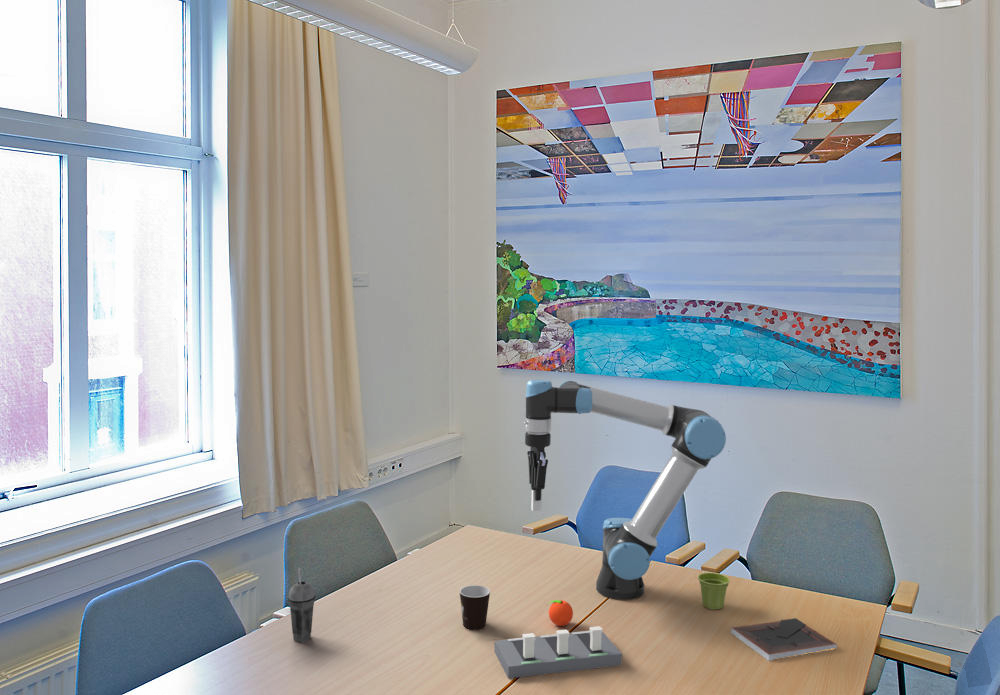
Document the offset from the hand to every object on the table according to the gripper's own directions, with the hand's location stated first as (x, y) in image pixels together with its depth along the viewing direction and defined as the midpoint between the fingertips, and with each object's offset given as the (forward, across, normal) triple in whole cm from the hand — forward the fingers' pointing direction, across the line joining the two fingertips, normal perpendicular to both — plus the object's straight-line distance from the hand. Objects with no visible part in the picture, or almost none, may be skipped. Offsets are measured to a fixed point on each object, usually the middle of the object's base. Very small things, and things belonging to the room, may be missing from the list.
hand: (536, 510), depth 232 cm
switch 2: (+26, +37, +5) cm, 45 cm away
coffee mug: (+30, +8, -20) cm, 37 cm away
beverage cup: (+30, +7, -68) cm, 74 cm away
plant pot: (+30, +12, +53) cm, 62 cm away
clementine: (+30, +14, +3) cm, 33 cm away
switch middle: (+26, +37, -4) cm, 45 cm away
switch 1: (+26, +37, -13) cm, 47 cm away
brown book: (+30, +37, +60) cm, 77 cm away
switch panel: (+29, +33, -4) cm, 44 cm away
